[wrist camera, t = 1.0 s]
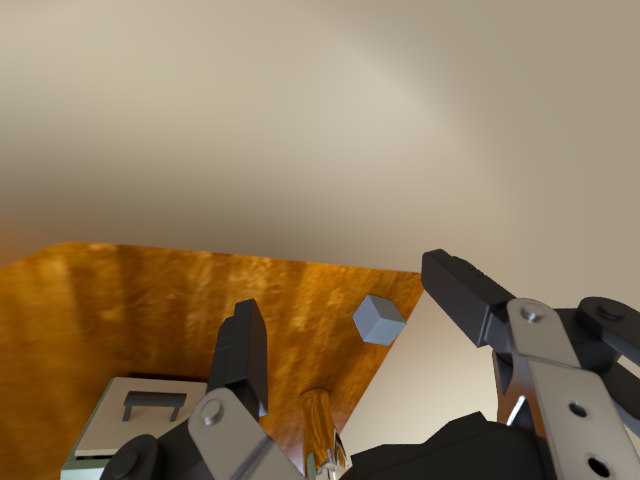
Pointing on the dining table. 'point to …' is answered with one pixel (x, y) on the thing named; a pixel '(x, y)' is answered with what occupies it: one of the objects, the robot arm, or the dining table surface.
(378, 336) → the block
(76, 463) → the cabinet
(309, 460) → the metal cup
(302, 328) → the dining table surface
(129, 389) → the drawer
